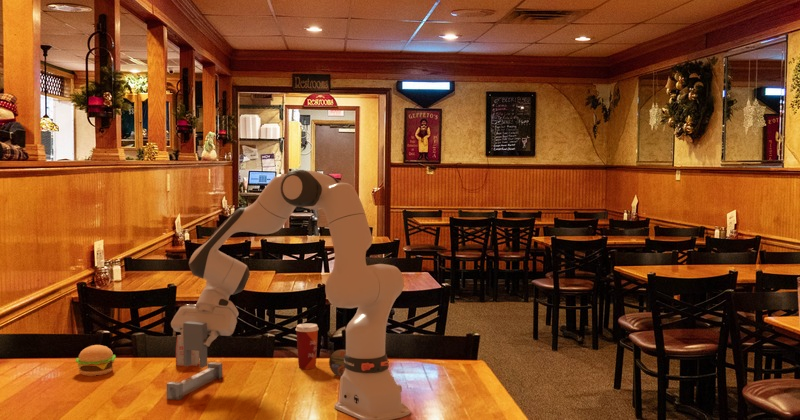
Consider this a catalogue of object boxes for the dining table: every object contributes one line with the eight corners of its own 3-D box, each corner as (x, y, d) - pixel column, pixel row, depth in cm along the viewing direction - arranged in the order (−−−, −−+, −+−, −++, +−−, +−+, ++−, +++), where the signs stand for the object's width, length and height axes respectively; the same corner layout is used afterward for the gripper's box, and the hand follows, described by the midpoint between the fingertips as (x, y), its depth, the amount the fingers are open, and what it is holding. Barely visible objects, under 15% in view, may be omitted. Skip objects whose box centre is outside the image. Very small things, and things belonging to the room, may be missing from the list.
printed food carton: (179, 363, 251) (179, 333, 250) (199, 363, 251) (198, 334, 250) (175, 366, 247) (175, 336, 247) (196, 366, 247) (195, 336, 246)
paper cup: (317, 370, 243) (317, 328, 242) (293, 370, 243) (293, 327, 242) (320, 363, 250) (320, 322, 250) (297, 363, 251) (297, 322, 250)
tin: (328, 374, 238) (328, 348, 237) (333, 372, 241) (333, 346, 240) (369, 381, 231) (369, 354, 230) (374, 378, 234) (374, 352, 233)
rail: (211, 376, 236) (211, 362, 235) (222, 377, 235) (222, 363, 234) (166, 398, 213) (166, 383, 212) (179, 400, 212) (178, 384, 211)
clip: (207, 365, 224) (206, 322, 223) (202, 367, 221) (202, 324, 220) (188, 363, 225) (188, 321, 225) (183, 365, 223) (183, 323, 222)
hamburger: (107, 377, 234) (106, 350, 233) (69, 377, 234) (68, 350, 233) (122, 367, 246) (121, 341, 245) (86, 367, 246) (85, 341, 245)
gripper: (177, 298, 232) (159, 336, 223) (236, 302, 226) (220, 341, 217) (185, 309, 236) (168, 347, 227) (243, 313, 230) (227, 352, 222)
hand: (194, 344), depth 222 cm, fingers closed on clip, 6 cm apart
